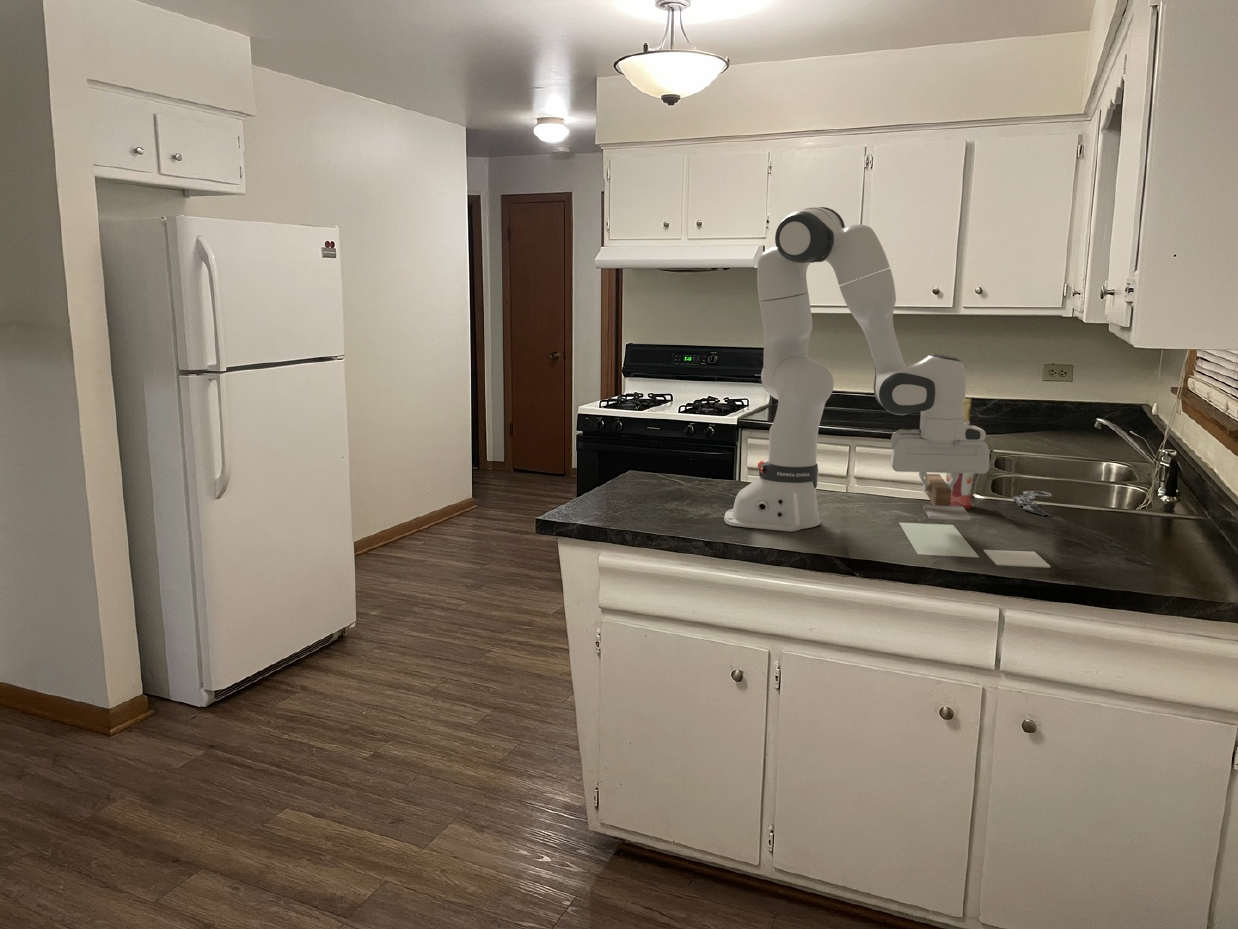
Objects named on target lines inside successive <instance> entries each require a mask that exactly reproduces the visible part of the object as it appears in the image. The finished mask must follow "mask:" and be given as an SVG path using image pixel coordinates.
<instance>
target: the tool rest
mask: <svg viewBox="0 0 1238 929" xmlns="http://www.w3.org/2000/svg"><path fill="white" fill-rule="evenodd" d="M898 524H899V525H900V527H901V528H902V530H903V532H904V533H905V535H906V538H907V539H908V541H909V542H910V544H911V546H912V547H913V549H914V550H915V552H916V554H917V555H920V556H921V555H926V556H941V557H942V556H943V557H945V556H946V557H966V558H980V556H979V555H978V554H977V552H976V551H975V550H974V549H973V547H972V546H971V545H970V544H969V543H968V541H967V540H966V539H965V538H964V537H963V535H962V534H961V533H960V532H959V531H958V529H957V528H956V527H955V526H954V525H953V524H939V523H917V522H916V523H914V522H899V523H898Z"/></svg>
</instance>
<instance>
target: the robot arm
mask: <svg viewBox="0 0 1238 929" xmlns="http://www.w3.org/2000/svg"><path fill="white" fill-rule="evenodd" d="M774 240H775V242H774V243H775V246H773V247H770V248H768V249H766V250H765V251H763V252H762V253H761V254H760V256H759V257H758V260H757V268H756V270H757V271H756V274H757V275H756V280H757V281H756V282H757V294H758V301H759V308H760V309H759V310H760V316H761V322H762V324H761V325H762V330H763V367H762V370H761V373H760V380H761V384H762V386H763V388H764V389H765V391H766V392H767V394H769V395H770V397H772V398H773V399H775V400H777V401H778V402H777V403H778V404H777V408H776V411H775V412H776V413H775V417H774V419H773V422H772V424H771V426H770V427H769V433H768V434H769V436H768V438H769V439H768V460H767V461H764V460H759V462H757V468H758V475H759V476H758V478H757V479H755V480H754V481H751V483H749V484H748V485H746V486H745V487H743V488H742V489H740V490H739V491H738V493H737V494H736V497H735V500H734V502H733V503H734V504H733V508H731V509H728V510H727V511H725V513H724V517H723V521H724V522H725V523H726V524H727V525H729V526H731V527H732V526H733V527H739V528H740V527H743V528H752V529H762V530H772V531H781V532H782V531H783V532H797V531H800V530H803V529H810V528H814V527H817V526H819V525H820V524H821V519H820V515H819V510H818V502H817V501H818V499H817V487H818V483H819V482H818V481H819V465H818V463H817V457H818V456H817V453H818V452H817V451H818V435H819V429H820V424H821V419H822V416H823V413H824V409H825V406H826V403H827V401H828V400H829V398H830V397H831V395H832V393H833V390H834V387H835V386H834V378H833V375H832V373H831V371H830V370H829V369H828V368H827V367H826V366H825V365H824V364H822V363H821V362H820V361H818V360H816V359H814V358H813V359H812V358H810V356H809V355H810V354H809V348H810V339H811V338H810V337H811V334H812V331H813V328H814V327H813V326H814V324H813V319H812V318H813V316H812V309H811V301H810V296H809V287H808V282H807V281H808V280H807V272H808V271H807V270H808V268H809V265H810V264H813V263H823V262H827V263H828V264H829V265H830V266H831V267H832V269H833V271H834V273H835V277H836V280H837V283H838V287H839V290H840V292H841V295H842V297H843V300H844V302H845V304H846V307H847V308H848V310H849V312H850V313H851V315H852V317H853V318H854V319H855V320H856V322H857V324H858V325H859V326H860V328H861V330H862V332H863V333H864V336H865V340H866V342H867V346H868V348H869V352H870V355H871V357H872V361H873V365H874V371H875V375H874V381H873V394H874V396H875V399H876V400H877V402H878V404H880V405H881V407H883V409H885V410H886V411H887V412H889V413H890V414H894V415H897V416H899V415H900V416H905V415H909V414H914V413H916V414H917V413H920V420H919V428H915V429H905V428H903V429H902V428H900V429H898V430H896V431H895V432H893V433H892V435H891V436H890V446H891V448H892V451H891V458H890V467H891V468H892V470H893V471H895V472H898V473H901V472H902V473H904V472H905V473H906V472H907V473H918V476H919V478H920V480H921V482H922V484H923V486H922V491H923V493H925V492H931V486H932V485H931V484H930V483H927V482H926V480H925V477H927V474H928V473H937V474H938V473H940V474H941V473H942V474H944V473H945V474H946V473H950V476H951V477H952V478H951V480H950V481H949V483H948V484H947V485H948V486H949V488H950V489H951V490H953V485H954V484H955V482H956V481H957V480H958V478H959V473H974V474H986V473H987V472H988V471H989V469H990V451H989V446H988V444H987V442H985V441H984V440H985V439H986V436H987V435H986V434H987V433H986V431H985V430H984V429H983V428H981V427H978V426H976V425H973V424H971V423H970V424H968V423H964V413H963V402H964V399H965V398H966V391H967V390H966V386H967V384H966V383H967V382H966V381H967V379H966V377H967V376H966V375H967V374H966V368H965V365H964V363H963V362H962V361H961V360H960V359H958V358H957V357H954V356H953V357H952V356H950V355H944V354H939V353H938V354H937V353H931V354H928V355H927V356H926V357H925V358H922V359H921V360H919V361H917V362H915V363H913V364H911V365H910V364H909V365H907V363H906V362H905V360H904V358H903V354H902V352H901V349H900V348H901V347H900V345H899V340H898V338H897V335H896V331H895V327H894V318H893V317H894V310H895V306H896V303H897V302H896V301H897V297H896V287H895V281H894V277H893V272H892V270H891V266H890V263H889V260H888V258H887V255H886V253H885V250H884V248H883V245H882V244H881V242H880V239H879V238H878V236H877V234H876V233H875V231H874V229H873V228H872V227H870V226H868V225H865V224H852V225H849V226H847V227H846V225H845V221H844V219H843V218H842V216H841V215H840V214H839V213H838V212H837V211H835V210H834V209H832V208H828V207H824V206H820V207H819V206H818V207H807V208H803V209H801V210H799V211H794V212H792V213H790V214H788V215H787V216H785V217H784V218H783V219H782V220H781V221H780V223H779V224H778V226H777V228H776V231H775V238H774ZM951 493H952V491H951Z"/></svg>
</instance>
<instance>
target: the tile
mask: <svg viewBox="0 0 1238 929" xmlns="http://www.w3.org/2000/svg"><path fill="white" fill-rule="evenodd" d="M983 552H984V553H985V554H986V556H988V557H989V559H990V560H991V561H992V562H993V563H994V565H995V566H1004V567H1005V566H1007V567H1009V566H1010V567H1026V568H1027V567H1031V568H1051V565H1050V564H1049V563H1047V562H1046V560H1044V559H1043V558H1042V557H1041V556H1040V555H1039V554H1038V553H1037V552H1035V551H1031V550H1030V551H1028V550H1027V551H1026V550H1025V551H1024V550H1003V549H1002V550H1001V549H999V550H998V549H983Z"/></svg>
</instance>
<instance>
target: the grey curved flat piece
mask: <svg viewBox="0 0 1238 929" xmlns="http://www.w3.org/2000/svg"><path fill="white" fill-rule="evenodd" d="M1052 496H1053V495H1052V493H1050V492H1047V491H1042V490H1024V491H1022V492H1021V493H1017V494H1015V495H1014V496H1013V499H1012V501H1013V502H1015V501H1017V502H1016V504H1018V505H1017V507H1020V506H1023V507H1022V509H1023V510H1026V511H1028V512H1031V513H1035V514H1037V515H1042V516H1045V515H1049V514H1048V513H1046V512H1045V511H1043V512H1044V513H1043V512H1041V511H1040V510H1038V509H1041V506H1040V507H1037V504H1038V503H1037V502H1036V501H1035V500H1036V499H1039V498H1040V499H1050V498H1051V497H1052ZM1035 505H1036V506H1035Z"/></svg>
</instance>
